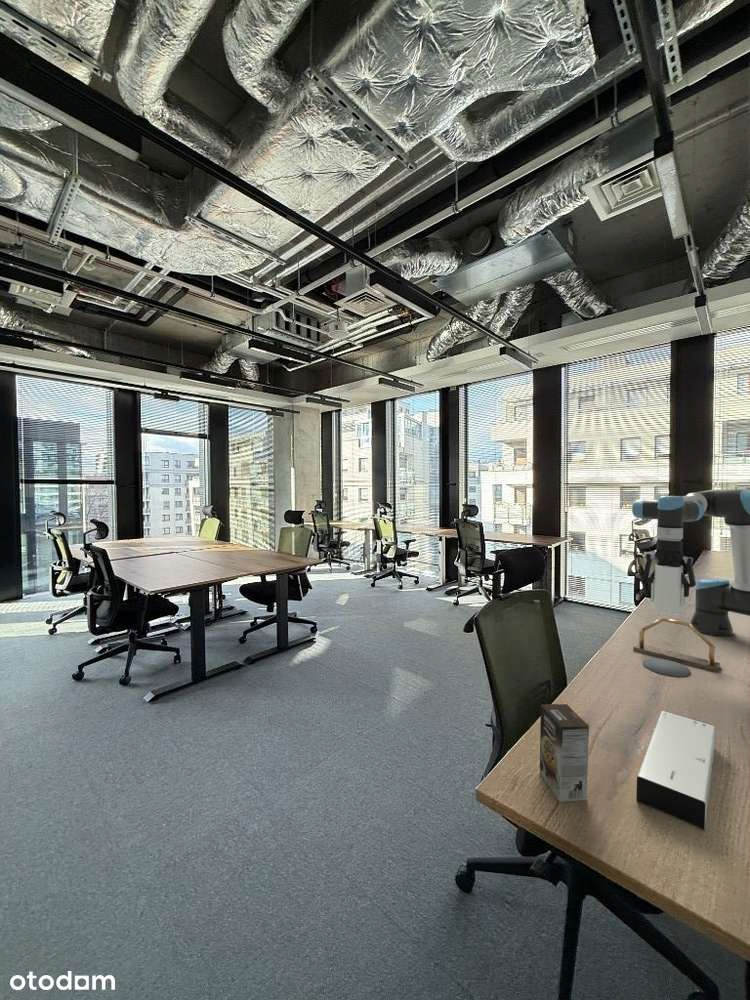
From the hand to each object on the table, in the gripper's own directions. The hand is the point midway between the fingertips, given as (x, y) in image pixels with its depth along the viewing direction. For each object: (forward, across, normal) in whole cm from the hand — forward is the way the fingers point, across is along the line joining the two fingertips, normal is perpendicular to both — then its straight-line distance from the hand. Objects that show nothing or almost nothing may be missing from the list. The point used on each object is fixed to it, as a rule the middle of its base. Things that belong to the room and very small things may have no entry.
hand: (667, 602), depth 152 cm
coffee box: (+24, +1, -87) cm, 90 cm away
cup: (+3, 0, 0) cm, 3 cm away
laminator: (+24, +17, -63) cm, 70 cm away
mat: (+23, 0, 0) cm, 23 cm away
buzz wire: (+23, 0, +12) cm, 26 cm away
